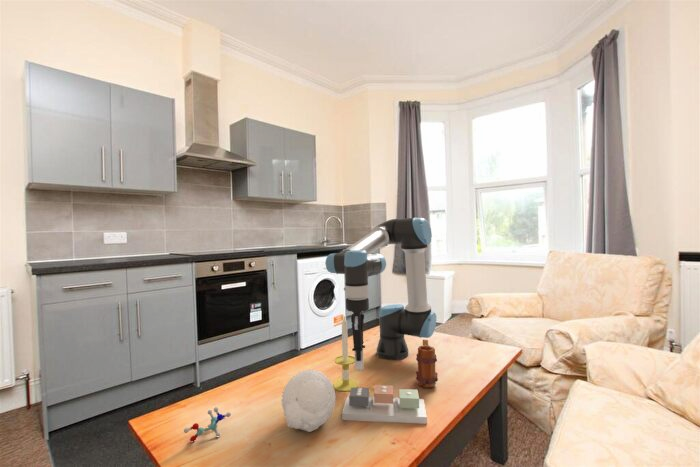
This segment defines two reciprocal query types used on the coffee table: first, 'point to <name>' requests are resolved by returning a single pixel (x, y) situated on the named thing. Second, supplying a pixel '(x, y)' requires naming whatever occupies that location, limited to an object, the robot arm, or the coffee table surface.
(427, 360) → the mug
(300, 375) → the white rounded lump
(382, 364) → the coffee table surface
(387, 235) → the robot arm
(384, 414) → the board
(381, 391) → the tile terracotta
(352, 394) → the tile charcoal
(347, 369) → the candle
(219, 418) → the molecular model
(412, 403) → the tile sage
